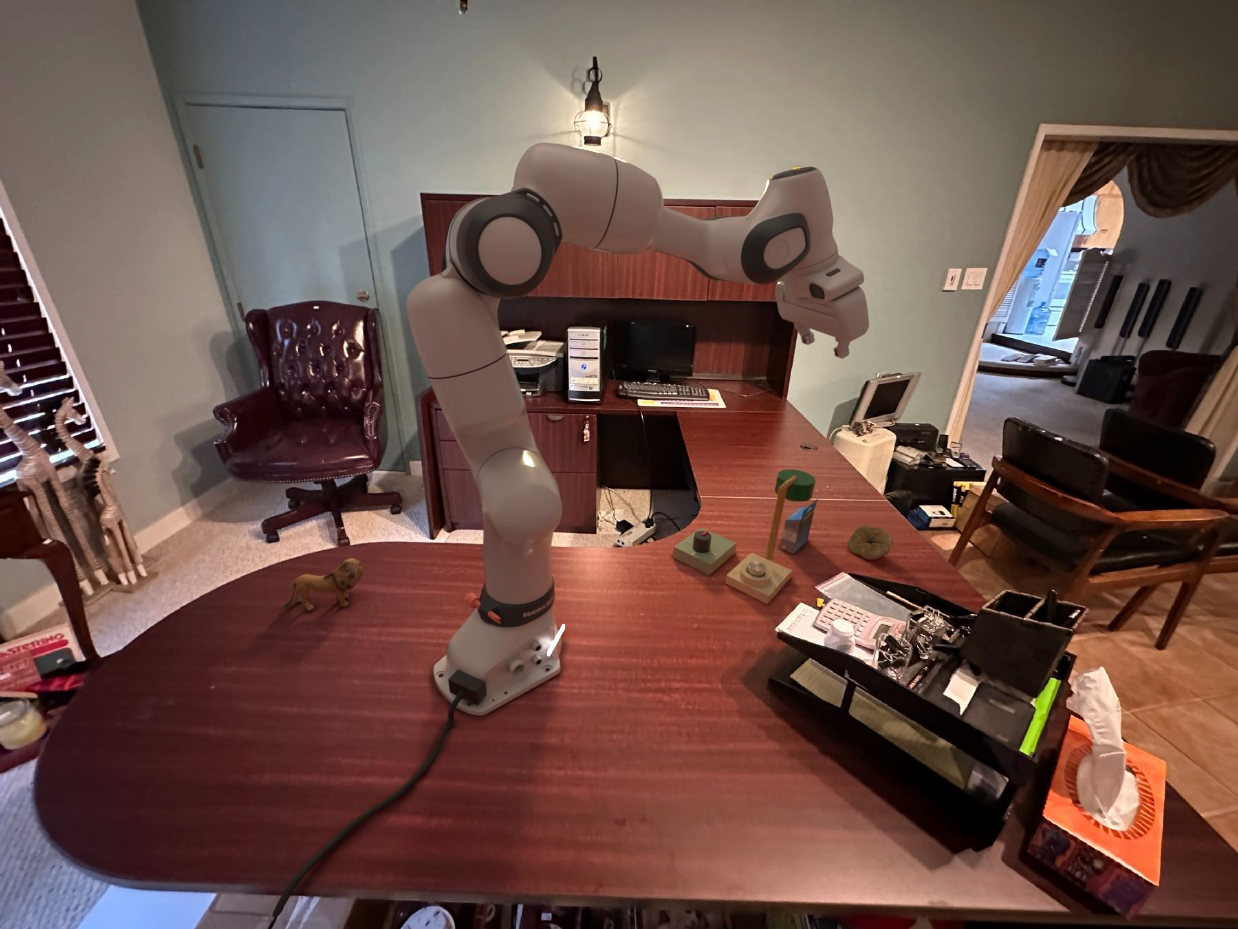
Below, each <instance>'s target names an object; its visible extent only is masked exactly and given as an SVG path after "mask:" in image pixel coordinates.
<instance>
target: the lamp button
mask: <svg viewBox="0 0 1238 929" xmlns="http://www.w3.org/2000/svg"><path fill="white" fill-rule="evenodd" d="M747 572H748V574H750V575H752V576H754V577H763V576H764V573H765V565H764V564H763V563H761V562H758V561H751V562H749V564H748V569H747Z"/></svg>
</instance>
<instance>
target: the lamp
mask: <svg viewBox="0 0 1238 929" xmlns="http://www.w3.org/2000/svg"><path fill="white" fill-rule="evenodd" d="M775 481H776V482H775V485H774V492H775V494H776V495H777V497H776V501H775V507H774V512H773V517H772V521H771V527H770V533H769V535H768V536H769V537H768V542H767V546H766V553H765V557H764V558H765V559H767V560H770V561H772V560H773V559H774V554H775V550H776V545H777V540H778V534H779V530H780V527H781V526H780V525H781V521H782V515H783V511H784V506H785V502H786V500H787V501H789V502H791V503H794V502H801V503H802V502H808V501H810V500H811V499H813V494H814V490H815V486H816V478H815V476H813V475H812V474H810V473H808V472H806V471H804V470H798V469H790V468H789V469H782V470H779V471H778V472H777V476H776V480H775Z"/></svg>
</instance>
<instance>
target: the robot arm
mask: <svg viewBox="0 0 1238 929" xmlns="http://www.w3.org/2000/svg"><path fill="white" fill-rule="evenodd" d="M515 168H516V169H515V172H514V177H513V184H512V185H513V186H512V187H511V190H510V191H508V192H505V193H502V194H499V195H498V194H497V195H494V196H492V197H490V196H486V197H480V198H476V199H474V200H473V199H472V200H471V201H469V202H468V203H466V204H464V205H463V206H462V207H461V208H459V209H458V210H457V211H456V212H455V213H454V215H453V216H452V217H451V219H450V222H449V223H448V226H447V229H446V232H445V238H444V246H443V255H442V259H441V260H442V261H441V268H440V269H441V272H439V273H438V274H435V275H431V276H429V277H427V278H424V279H423V280H421V281H419V282H418V283H417V284H416V285H415V286H414V287H413V288H412V289H411V290H410V291H409V293H408V295H407V298H406V301H405V302H406V303H405V304H406V305H405V310H406V314H407V319H408V324H409V327H410V332H411V335H412V338H413V342H414V345H415V349H416V352H417V354H418V357H419V359H420V363H421V365H422V367H423V370H424V373H425V375H426V378H427V379H428V381H429V384H430V386H431V389H432V390H433V393H434V395H435V398H436V400H437V402H438V405H439V407H440V409H441V411H442V414H443V416H444V418H445V421H446V423H447V425H448V427H449V429H450V431H451V433H452V435H453V437H454V438H455V440H456V442H457V444H458V447H459V449H460V451H461V452H462V455H463V457H464V459H465V461H466V463H467V465H468V467H469V469H470V472H471V475H472V477H473V481H474V483H475V486H476V490H477V493H478V496H479V502H480V508H481V512H482V531H483V532H482V534H483V537H482V546H481V552H482V562H483V573H484V574H483V576H484V583H483V586H482V588H481V592H480V596H477V595H476V594H475V593H474V592H469V593H467V594H465V597H464V600H463V602H464V604H465V605H467V606H469V608H471V609H474V610H473V612H471V613H470V615H469V616H468V618H467V619H466V620H465V621H464V622H463V623H462V624H461V626H460V627H459V628H458V630H456V632H455V633H454V634H453V636H452V637H450V639H449V641H448V644H447V647H446V654H445V655H444V656H443V657H441V658H440V659H439V660H438V661H437V662H436V663H435V664H434V665H433V681H434V683H435V686H436V688H437V689H438V691H439V692H440V693H441V695H442V696H443V697H444V698H445V699H446V700H447V701H448V702H449V703H450V706H449V708H448V711H447V721H446V723H445V726H444V729H443V731H442V733H441V736H440V738H439V741H438V743H437V744H436V745H435V748H434V749H433V750H432V752H431V754H430V755H429V757H428V758H427V759H426V760H425V761H424V763H423V764H422V765H421V767H420V768H419V769H418V770H417V771H416V772H415V774H413V775H412V777H411V778H410V779H409V780H408V781H407V782H406V783H404V784H403V785H402V786H401V787H400V788H398V789H397V790H396V791H395V792H393V793H392V794H391V795H389V796H388V797H386V798H385V799H384V800H382V801H380V802H379V803H377V804H375V805H374V806H373V807H371V808H369V809H368V810H366V811H365V812H363V813H362V814H361V815H359V816H358V817H356V818H355V819H353V820H352V821H351V822H350V823H348V824H347V825H346V826H345V827H343V828H342V829H341V830H340V831H339V832H338V833H337V834H335V836H333V837H332V838H331V839H330V840H329V841H328V842H327V843H326V844H325V845H324V846H322V848H321V849H319V850H318V851H317V852H315V854H314V855H313V856H312V857H310V859H309V860H308V861H307V862H306V863H305V864H304V865H303V866H302V867H301V868H300V870H299V871H298V872H297V873H296V874H295V875H294V876H293V878H292V879H291V881H290V882H289V883H288V885H287V886H286V888H285V889H284V891H283V892H282V895H281V896H280V898H279V899H278V901H277V903H276V905H275V907H274V910H273V911H272V918H278V917H279V916H280V915H281V914H282V912H283V910H284V908H285V907H286V904H287V903H288V901H289V899H290V897H292V894H293V892H294V891H295V890H296V888H297V887H298V885H299V884H300V883H301V881H302V880H304V877H305V876H306V875H307V874H308V873H309V872H310V871H311V870H312V868H313V867H314V866H316V864H318V863H319V861H321V860H322V858H324V857H325V856H326V855H327V854H328V853H329V852H330V851H331V850H332V849H333V848H334V847H336V846H337V845H338V844H339V843H340V842H341V841H342V840H343V839H344V838H345V837H346V836H348V835H349V834H350V833H351V832H353V831H354V830H355V829H356V828H357V827H358V826H361V825H362V824H363V823H364V822H366V821H367V820H368V819H370V818H371V817H373V816H374V815H376V814H378V813H379V812H380V811H382V810H384V809H385V808H387V807H388V806H390V805H391V804H393V803H395V802H396V801H397V800H399V798H401V797H402V796H403V795H405V794H406V793H407V792H408V791H409V790H410V789H411V788H412V787H413V786H414V785H415V784H416V783H417V782H418V781H419V780H420V778H421V777H422V776H423V775H424V774H425V773H426V772H427V771H428V769H429V768H430V767H431V765H432V764H433V762H434V761H435V760H436V758H437V756H438V754H439V752H440V749H441V746H442V744H443V743H444V740H445V738H446V737H447V736H448V734H449V732H450V731H451V729H452V726H453V723H454V721H455V711H456V709H458V710H460V711H461V712H463V713H465V714H469V715H471V716H472V715H473V716H478V717H483V716H485V715H487V714H490V713H491V712H493V711H495V710H496V709H498V708H500V707H502V706H503V705H505V704H507V703H509V702H511V701H512V700H514V699H517V698H518V697H520V696H522V695H524V694H525V693H527V692H528V691H529V692H530V690H532V689H534V688H536V687H538V686H539V685H541V684H543V683H545V682H547V681H549V680H550V679H552V678H554V677H556V676H557V675H559V674H560V672H561V670H562V669H561V668H562V666H561V661H560V655H561V652H562V648H563V640H562V639H563V638H562V636H561V635H562V634H563V632H564V631H565V628H566V627H565V626H566V625H565V624H562V625H561V627H560V629H559V628H558V625H557V621H556V616H555V609H554V603H555V600H556V596H555V595H556V591H555V590H556V588H555V579H554V576H553V573H552V571H553V570H552V567H553V566H552V565H553V564H552V563H553V562H552V546H553V545H552V543H553V537H554V533H555V531H556V529H557V528H558V526H559V524H560V523H561V520H562V516H563V504H562V497H561V492H560V489H559V484H558V483H557V480H556V478H555V477H554V475H553V473H552V472H551V470H550V468H549V467H548V465H547V463H546V462H545V460H544V458H543V457H542V454H541V452H540V450H539V447H538V445H537V443H536V440H535V437H534V434H533V430H532V427H531V424H530V418H529V415H528V412H527V406H526V401H525V398H524V395H523V391H522V389H521V386H520V383H519V381H518V378H517V374H516V371H515V369H514V366H513V365H514V364H513V363H512V360H511V356H510V354H509V351H508V348H507V345H506V343H505V340H504V337H503V334H502V332H501V329H500V322H499V319H498V318H499V317H498V311H499V310H498V309H499V304H500V301H501V300H513V299H518V298H522V297H524V296H525V297H526V296H528V295H529V294H531V293H532V292H533V291H535V290H536V289H537V288H538V287H539V286H540V285H541V284H542V282H544V280H545V278H546V276H547V274H548V273H549V270H550V268H551V265H552V262H553V259H554V258H555V255H556V253H557V251H558V249H559V247H560V245H561V243H567V244H570V245H571V244H572V245H576V246H580V247H584V248H587V249H591V250H594V251H598V252H605V253H609V254H617V255H639V254H642V253H644V252H646V251H647V250H648V251H654V252H657V253H661V254H664V255H668V256H672V257H674V258H678V259H682V260H684V261H686V262H688V263H689V264H691V265H692V266H693V267H694V268H695V269H696V270H697V272H699V273H700V274H701V275H702V276H704V277H705V278H707V279H709V280H711V281H719V282H720V281H721V282H722V281H723V282H724V281H728V282H734V283H741V284H748V285H756V286H764V285H766V286H767V285H770V284H773V283H775V282H777V283H776V284H775V298H776V305H777V310H778V314H779V315H780V317H781V319H782V320H784V321H787V322H791V323H793V325H794V328H795V329H796V331H797V333H798V334H799V336H800V339H801V344H804V345H807V346H810V345H811V344H814V342H815V340H816V338H815V334H814V332H812V331H811V330H814V331H816V332H819V333H822V334H824V335H827V336H830V337H832V338H834V339H835V342H836V343H837V346H836V347H833V352H834V356H835V357H837V358H839V359H841V360H843V359H845V358H846V357H848V356H849V355H850V347H849V346H850V345H851V342H853V341H855V340H857V339H858V338H859V339H860V337H862V336H864V335H866V334H867V332H868V330H869V327H870V318H869V309H868V302H867V297H866V294H865V291H864V290H863V288H861V285H863V284H864V281H865V275H864V272H863V271H862V270H861V269H860V268H859V267H857V266H855V265H854V264H852V263H851V262H849V261H848V260H846V259H845V257H843V256H842V255H840V254H839V249H838V248H839V247H838V244H837V242H836V239H835V238H834V233H833V227H834V215H833V207H832V202H831V201H832V200H831V196H830V193H829V189H828V185H827V181H826V180H825V177H824V175H823V173H822V171H821V170H820V169H819V168H817V167H815V166H804V167H798V168H795V169H789V170H788V169H787V170H785V171H782V172H781V171H780V172H779V173H775V174H774V175H772V176H771V177H769V178H768V179H767V181H766V187H765V189H764V191H763V194H761V195H762V196H761V197H760V199H759V201H758V202H757V204H755V206H754V207H753V209H752V210H751V211H750V212H749V213H748V214H747V215H746V216H729V215H717V216H713V217H709V218H705V219H700V218H697V217H693V216H691V215H688V214H685V213H683V212H680V211H676V210H674V209H671V208H668V207H666V206H665V205H664V197H663V192H662V189H661V186H660V183H659V182H658V180H657V179H656V177H654V176H653V175H651V174H649V172H647V171H645V170H643V169H642V168H640V167H638V166H637V165H635V164H632V163H630V162H628V161H625V160H623V159H620V158H617V157H615V156H612V155H610V154H609V155H608V154H606V153H603V152H600V151H597V150H592V149H588V148H586V147H585V148H584V147H580V146H574V145H569V144H562V143H554V142H538V143H535V144H533V145H531V146H530V147H529V148H527V150H526V151H524V153H523V154H522V156H521V157H520V159H519V161H518V162H517V166H516V167H515Z"/></svg>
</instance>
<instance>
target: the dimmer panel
mask: <svg viewBox="0 0 1238 929" xmlns="http://www.w3.org/2000/svg"><path fill="white" fill-rule="evenodd" d="M697 531H708V533H710V534H711V536H712V537H711V544H710V550H709V551H708V552H706V553H700V552H697V551H695V550H694V549H693V539H694V533H695V532H697ZM736 549H737V542H736V541H733V540H731V539H729V538H726V537H724V536H722V535H719V534H717V533H715V532H713V531H711V530H708V529H706V528H703V527H699V528H698V529H697V530H695V531H694V532H693V533H691V534H690V535H688V536H687V537H685V538H684V539H683V540H681V541H679V543H677V544H675V545H674V546H673V550H672V558H673V559H675V560H678V561H679V562H682V563H683V564H685V565H688V566H690V567H692V568H694V569H696V570H698V571H700V572H702V573H703V574H706V575H708V576H710V575H711V574H713V573H714V572H715V571H716V570H717V569H719V567H721V566H722V565H723V564H724V563H725V562H726V561H728V559H731V557H732V556H733V555H735V554H736Z"/></svg>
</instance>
